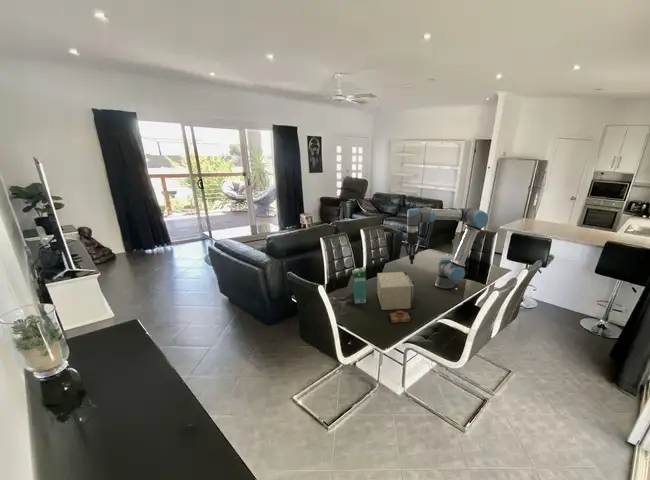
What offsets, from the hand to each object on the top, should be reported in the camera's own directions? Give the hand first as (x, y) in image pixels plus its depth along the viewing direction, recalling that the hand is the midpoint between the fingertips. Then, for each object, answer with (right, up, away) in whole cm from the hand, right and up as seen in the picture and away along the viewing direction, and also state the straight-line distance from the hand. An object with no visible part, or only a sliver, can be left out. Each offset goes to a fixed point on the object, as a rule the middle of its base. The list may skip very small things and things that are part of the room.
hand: (411, 263), depth 231 cm
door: (0, -27, +2) cm, 27 cm away
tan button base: (-10, -37, -22) cm, 44 cm away
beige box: (-12, -27, +4) cm, 30 cm away
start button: (-10, -34, -23) cm, 42 cm away
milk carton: (-37, -27, +5) cm, 46 cm away
